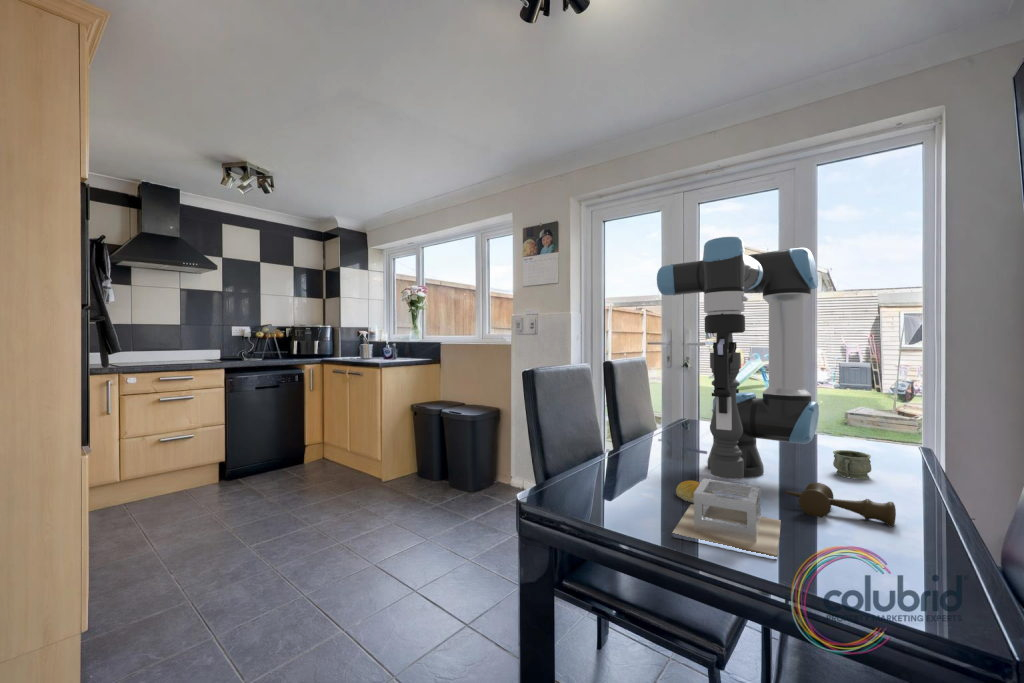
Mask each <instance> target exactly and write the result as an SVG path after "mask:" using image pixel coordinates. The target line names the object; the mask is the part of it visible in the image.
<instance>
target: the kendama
mask: <svg viewBox="0 0 1024 683" xmlns="http://www.w3.org/2000/svg"><path fill="white" fill-rule="evenodd" d="M784 493H785V494H786V495H789V496H794V497H797V498H798V504H799V507H800V510H802V512H803V513H804V514H806V515H807V516H810V517H811V516H812V517H815V518H824V517H827V516H828V515H829V514H830V512H831V509H832V506H834V507H837V508H840V509H843V510H845V511H848V512H852V513H856V514H857V515H860V516H861V517H863V518H864V519H865V520H867V521H868V520H877V521H880V522H882V523H885V524H886V525H887V526H888V527H891V528H892V527H894V525H895V523H896V519H897V512H896V504H895V503H894V501H887V502H882V503H881V502H876V501H873V500H871V499H869V498H865V499H864V500H852V499H851V500H850V499H849V500H848V499H838V498H834V493H833V490H832V489H831V487H830V486H828V485H827V484H824V483H822V482H810V483H808V485H807V486H806V487H805V490H802V492H801V493H800V492H794V491H789V490H788V491H787V490H786V491H784Z"/></svg>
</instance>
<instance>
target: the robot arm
mask: <svg viewBox="0 0 1024 683" xmlns="http://www.w3.org/2000/svg"><path fill="white" fill-rule="evenodd" d="M745 252H746V249H745V247H744V241H743V238H741V237H739V236H722V237H716V238H711V239H709V240H708V241H706V242H705V243H704V245H703V254H702V255H703V256H702V260H698V261H697V260H695V261H687V262H681V263H671V264H669V265H663V266H661V267H660V268H659V269H658V270H657V273H656V286H657V289H658V291H659V292H660V294H661V295H663V296H681V295H689V294H690V295H691V294H699V293H704V294H703V312H704V313H705V314H706V316H705V317H704V332H705V333H706V334H716V336H715V337H716V340H715V342H713V343H712V345H713V346H712V350H713V353H714V374H713V380H714V386H713V392H711V397H714V398H713V400H712V409H711V411H712V412H713V411H714V407H715V397H716V429H721V430H732V413H731V397H730V363H732V362H733V353H735V352H737V348H738V347H737V341H736V342H735V341H734V339H733V334H739V333H741V334H743V333H744V332H746V316H745V315H744V314H742V313H743V312H744V311H745V303H744V302H747V301H749V297H748V296H745V294H762V300H764V301H765V302H767V304H768V387H767V388H766V389H765V390H764V391H762V397H757V395H756V393H755V392H748V391H747V392H739V390H740V389H739V388H737V389H736V404H737V408H738V412H739V416H740V419H741V423H742V427H743V433H742V435H741V437H740V438H739V439H738V443H737V446H738V447H739V448H740V450H741V451H742V455H741V456H740V457H741V458H742V459H743V460H744V477H743V478H754V477H760V476H762V475H764V474H763V473H764V472H765V471H764V470H765V467H764V464H763V460H762V458H761V455H760V452H759V450H758V448H757V439H761V440H767V441H768V440H770V441H777V442H784V443H788V444H805V445H806V444H809V443H810V442H812V440H813V439H814V436H815V433H816V430H817V426H818V423H819V415H820V414H819V413H820V409H819V408H820V407H819V403H818V402H816V401H815V400H812V394H811V393H810V392H809V391H808V390H807V389H806V387H805V302H806V301H807V300H808V299H810V297H812V296H811V294H812V291H811V290H815V289H817V288H818V287H819V276H818V269H817V265H816V262H815V258H814V255H813V254H812V252H811V250H810V249H808V248H806V247H798V248H786V249H781V250H774V251H767V252H761V253H753V254H752V253H751V254H748V255H746V254H745ZM728 353H732V355H731V357H730V358H729V359H728ZM712 438H713V439H712V440H713V441H712V442H713V443H712V444H711V448H710V451H709V454H708V458H707V462H706V463H707V469H708V470H709V471H710V456H712V455H713V453H712V451H711V449H712V448H713V447H714V445H715V444H716V442H715V438H714V436H713V435H712Z"/></svg>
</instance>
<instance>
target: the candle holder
mask: <svg viewBox="0 0 1024 683" xmlns="http://www.w3.org/2000/svg"><path fill="white" fill-rule="evenodd" d="M731 355H732V353H728V359H729V358H730V357H731ZM741 355H742V354H741V352H739V351H735V353H733V362H732V363H730V397H731V413H732V430H721V429H716V397H715V396H714V398H715V407H714V411H712V416H711V421H710V424H709V430H710V433H711V435H712V437H713V436H714V438H715V442H716V444H715V445H714V447H713V448H712V447H711V448H712V449H711V448H710V451H712V453H713V455H712V456H710V470H709V472H710V474H711V475H712V476H714V477H717V478H721V479H726V480H738V479H739V480H740V479H743V478H745V477H744V460H743V459H742V458H741V457H740V456H741V455H742V451H741V450H740V448H739V447H738V446H737V443H738V439H739V438H740V437H741V435H742V433H743V427H742V423H741V419H740V416H739V412H738V408H737V404H736V389H738V387H740V384H741V383H740V381H739V380H737V377H738V374H740V369H741V368H742V367H741V366H742V364H741V363H742V361H741V360H742V359H741V358H742V357H741ZM709 368H710V369H711V373H712V374H713V375H714V352H709ZM711 385H712V386H713V387H714V379H713V380H712V381H711Z"/></svg>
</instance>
